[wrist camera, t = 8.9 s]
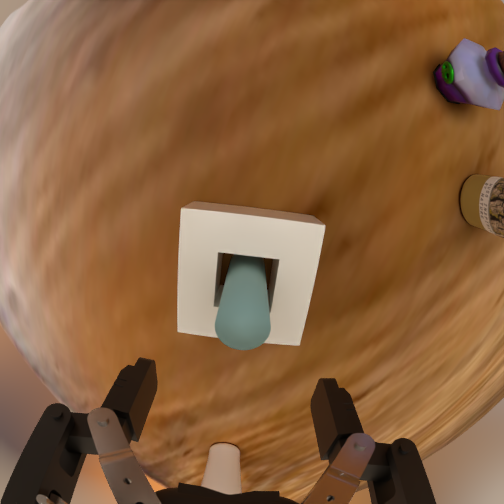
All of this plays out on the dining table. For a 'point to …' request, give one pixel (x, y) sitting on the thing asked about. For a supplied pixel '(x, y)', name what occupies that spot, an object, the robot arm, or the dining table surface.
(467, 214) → the paper tube
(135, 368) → the robot arm
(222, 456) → the drinking glass
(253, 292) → the peg
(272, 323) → the socket block
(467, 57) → the potion bottle
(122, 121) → the dining table surface
